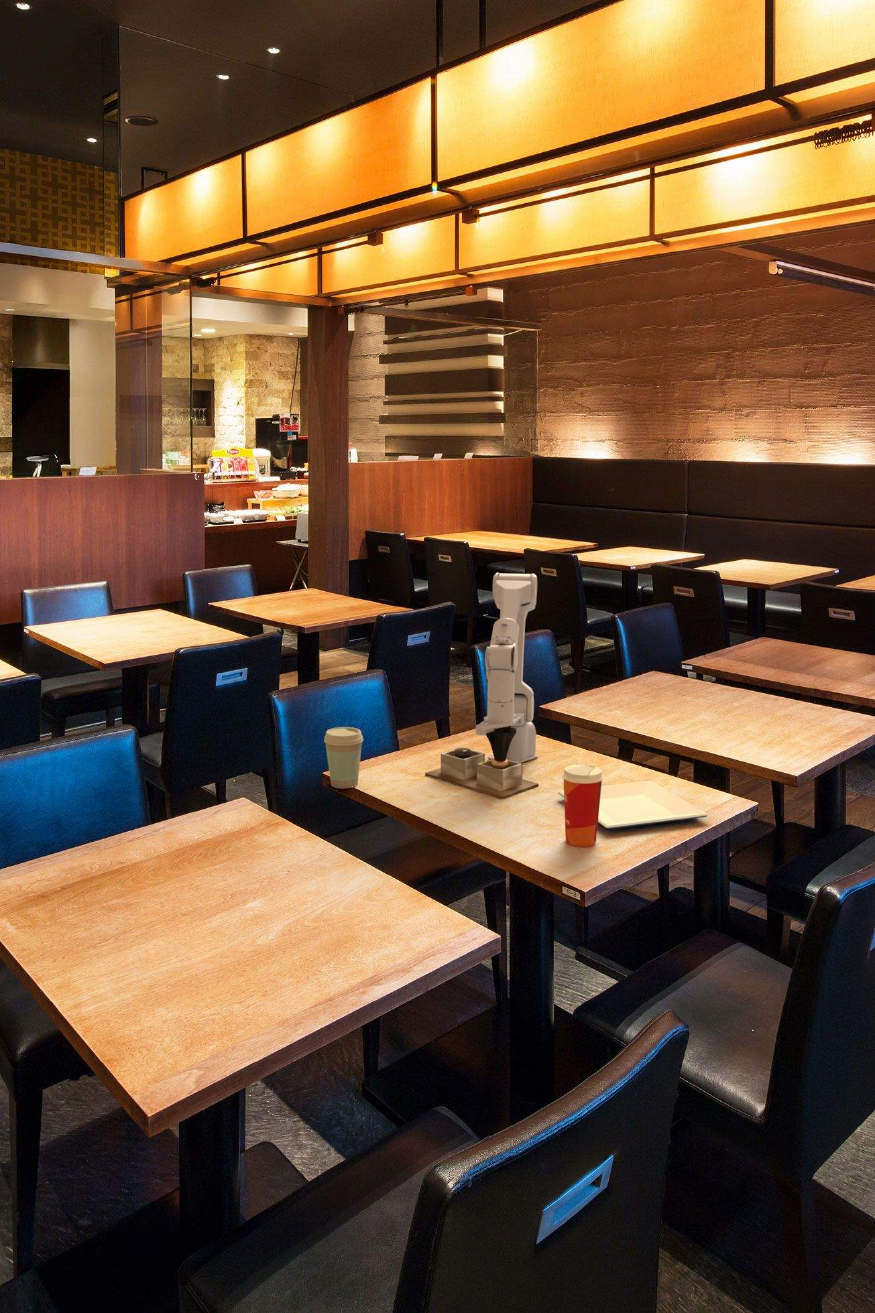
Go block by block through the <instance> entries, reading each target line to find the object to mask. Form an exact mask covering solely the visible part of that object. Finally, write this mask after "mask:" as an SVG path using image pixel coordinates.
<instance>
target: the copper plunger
mask: <svg viewBox="0 0 875 1313" xmlns="http://www.w3.org/2000/svg"><path fill="white" fill-rule="evenodd" d="M492 767H493V768H496V769H500V770H503V769H505V768H508V759H506V760H505V761H503V762H500V761H496V760H494V759H492Z"/></svg>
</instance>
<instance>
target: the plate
mask: <svg viewBox="0 0 875 1313" xmlns="http://www.w3.org/2000/svg"><path fill="white" fill-rule="evenodd" d="M557 793H558V795H560V796H561V797H563V798H564V789H563V790H562V789H561V790H558V791H557ZM708 816H709V814H708V813H706V812H705V811H703V810H702V809H699V808H698V807H696V806H695V805H693V804H691V803H690V802H688V801H686V800H684V799H683V798H681V797H679V796H678V795H676V794H674V793H672V792H671V791H670V790H667V789H666V788H664V787H662V786H661V785H659V784H658V783H656V782H654V781H652V780H643V781H634V782H624V783H616V784H608V785H607V784H606V785H601V795H600V806H599V817H598V824H599V825H601V826H602V827H604V828H605V829H606V830H613V829H621V828H628V827H629V828H630V827H637V826H645V825H654V824H660V823H669V822H676V821H677V822H678V821H684V820H685V821H686V820H691V819H692V820H693V819H700V818H707V817H708Z"/></svg>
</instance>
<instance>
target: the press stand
mask: <svg viewBox="0 0 875 1313" xmlns="http://www.w3.org/2000/svg"><path fill="white" fill-rule="evenodd" d="M470 750H471V757H469V758H465V759H461V758H457V757H455V749H452V750H449V751H446V752H443V753H440V768H437V769H434V770H430V771H428V772H424V776H427V777H430V778H434V779H437V780H440V781H443V782H446V783H450V784H453V785H456V786H459V787H463V788H467V789H469V790H472V791H474V792H475V791H476V792H479V793H482V794H486V795H489V796H492V797H495V798H498V799H501V800H503V799H507V798H509V797H513V796H514V795H517V794H520V793H522V792H525V791H529V790H532V789H534V788H536V787H539V783H538V782H534V781H531V780H527V779H523V776H524V774H523V772H524V771H523V770H524V769H523V768H524V767H523V765H524V763H517V762H514V761H510V760H508V768H505V769H503V770H500V769H496V768H493V767H492V759H489V760H485V759H486V753H484V752H481V751H477V750H473V749H470Z"/></svg>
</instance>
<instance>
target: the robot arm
mask: <svg viewBox="0 0 875 1313" xmlns="http://www.w3.org/2000/svg"><path fill="white" fill-rule="evenodd" d="M537 593H538V577H537V575H536V574H535V573H500V572H496V573H495V574H494V575H493V579H492V596H493V599H494V603H495V605H496V608H497V609H499V610H500V613H499V619H497V620H496V621H495V622H494V624H493V629H492V633H491V640H490V644H489V646H487V647H486V648H485V655H484V656H485V657H484V663H485V664H484V665H485V670H486V672H485V673H486V680H487V710H486V711H487V716H484V717H483V721H482V722H480V723H479V724H475V735H479V736H486V738H487V739H488V740H487V741H488V742H489V744H490V748H491V750H492V755H489V756H488V759H489V760H491V759H494V760H496V761H500V762H503V761H505V760H506V759H508V760H510V761H514V762H517V763H521V764H523V763H525V762H529V761H531V760H533V759H537V758H538V757H539V755H538V754H537V753H536V750H537V749H536V748H537V747H536V746H537V744H536V743H537V731H536V727H535V725H534V723H533V722H532V721H533V720H534V713H535V699H534V695H535V693H534V691H533V688H532V687H530V686H529V685H528V684H526V682H524V681H523V678H524V677H523V676H524V654H525V653H524V652H525V636H526V635H525V633H526V632H525V631H526V630H525V629H526V619H527V618H528V617H527V616H528V613H529V612H531V611H533V610H535V609H536V605H537V595H538V594H537ZM515 694H517V695H515ZM518 694H522V695H518Z"/></svg>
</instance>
